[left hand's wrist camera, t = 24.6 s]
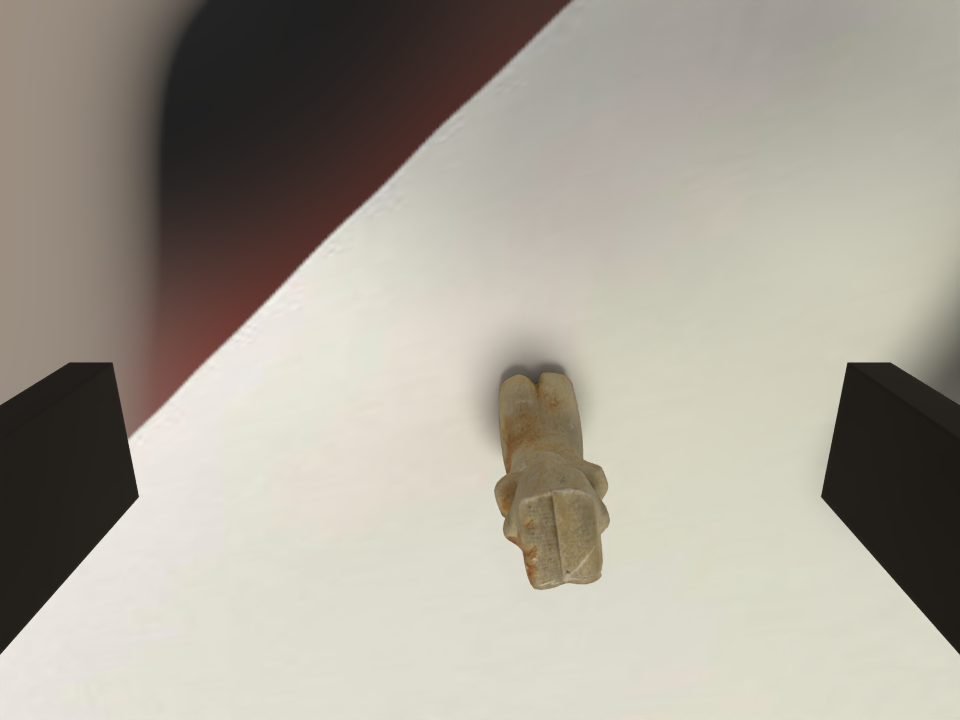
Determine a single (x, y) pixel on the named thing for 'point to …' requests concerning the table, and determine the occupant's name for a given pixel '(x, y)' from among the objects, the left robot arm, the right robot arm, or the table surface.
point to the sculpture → (549, 483)
